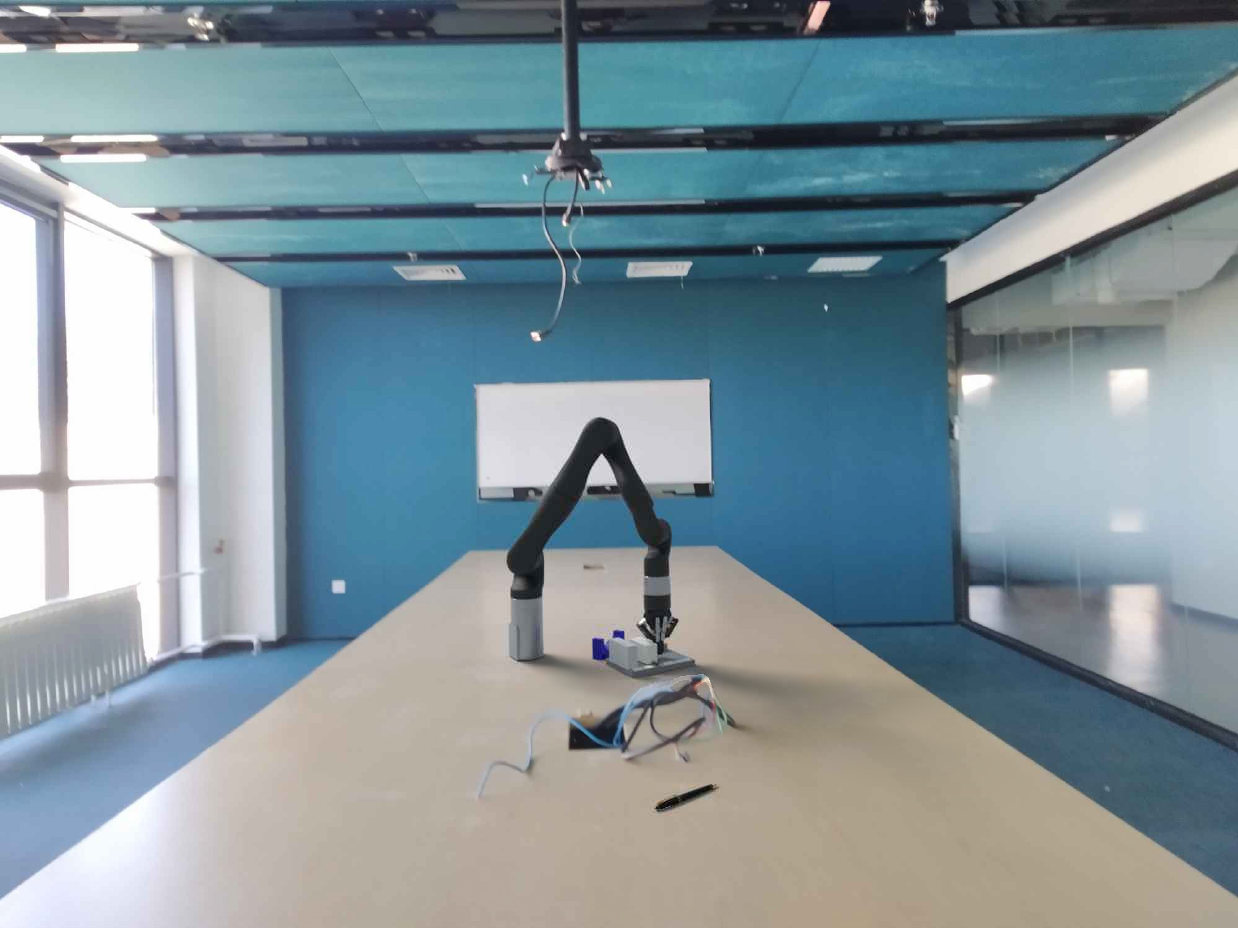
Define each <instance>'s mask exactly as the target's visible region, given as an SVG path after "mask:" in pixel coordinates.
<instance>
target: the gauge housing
mask: <svg viewBox="0 0 1238 928" xmlns="http://www.w3.org/2000/svg"><path fill="white" fill-rule="evenodd" d="M608 641H609V658H606V659H605V665H606V666H608V667H610V668H612V669H614V670H616V671H618V672H620V673H622V674H623V675H626V676H628V677H630V678H632V679H633V678H637V677H638V678H639V677H641V676H642V677H643V676H647V675H652V674H657V673H663V672H667V671H672V670H677V669H682V668H688V667H692V666H693V667H694V666H695V665H696V659H695V658H691V657H689V656H687V655H684V654H681V653H679V652H677V651H674V650H672V649H670V648H669V647H668V643H667V642H664V652H663V654H661V655H657V663H659V665H655V664H647V665H646V664H644V663H642V662H640V661H638V654H637V645H635V644H633V643H631V642H629V641H628V640H624V639H621V638H619V637H618V638H613V637H611V638H609V639H608Z"/></svg>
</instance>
